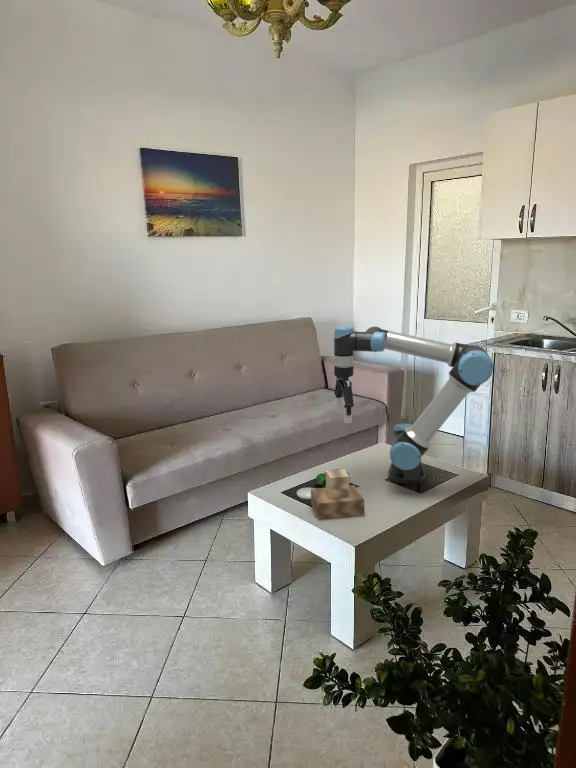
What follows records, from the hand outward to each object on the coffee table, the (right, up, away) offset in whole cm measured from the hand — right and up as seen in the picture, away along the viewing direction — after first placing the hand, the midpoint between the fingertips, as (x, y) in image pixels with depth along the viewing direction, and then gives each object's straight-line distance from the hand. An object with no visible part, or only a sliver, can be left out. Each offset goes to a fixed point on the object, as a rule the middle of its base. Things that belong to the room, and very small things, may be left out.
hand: (343, 418), depth 211 cm
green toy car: (-4, -28, +8) cm, 29 cm away
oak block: (-4, -27, -16) cm, 32 cm away
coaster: (-14, -30, -1) cm, 33 cm away
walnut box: (-4, -33, -15) cm, 36 cm away
